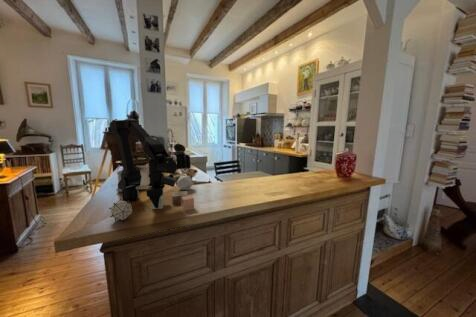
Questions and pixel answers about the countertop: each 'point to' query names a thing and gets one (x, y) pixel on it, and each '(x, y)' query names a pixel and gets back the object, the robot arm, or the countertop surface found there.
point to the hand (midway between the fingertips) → (157, 204)
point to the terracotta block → (187, 202)
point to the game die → (121, 210)
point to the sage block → (159, 203)
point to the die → (184, 183)
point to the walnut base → (178, 197)
